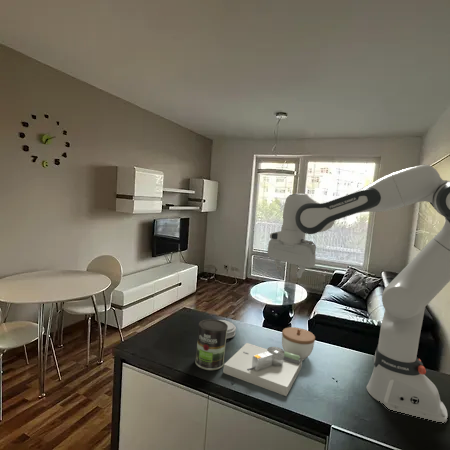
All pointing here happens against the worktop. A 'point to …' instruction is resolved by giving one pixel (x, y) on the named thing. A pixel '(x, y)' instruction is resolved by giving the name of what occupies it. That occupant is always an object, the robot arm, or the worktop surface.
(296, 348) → the lidded bowl
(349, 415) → the worktop surface
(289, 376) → the base
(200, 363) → the coffee can
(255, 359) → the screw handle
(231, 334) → the lid
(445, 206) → the robot arm
